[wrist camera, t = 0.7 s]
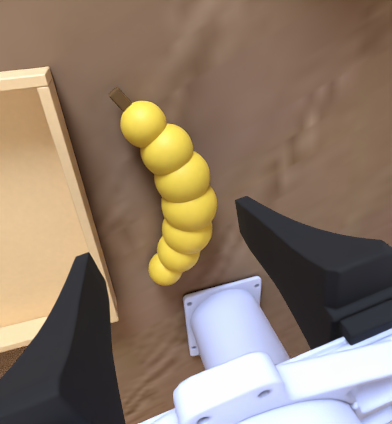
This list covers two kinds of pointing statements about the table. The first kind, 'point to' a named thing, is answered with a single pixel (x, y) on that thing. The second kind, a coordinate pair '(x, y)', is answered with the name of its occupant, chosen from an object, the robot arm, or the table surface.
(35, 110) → the tray
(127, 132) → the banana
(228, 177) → the table surface
